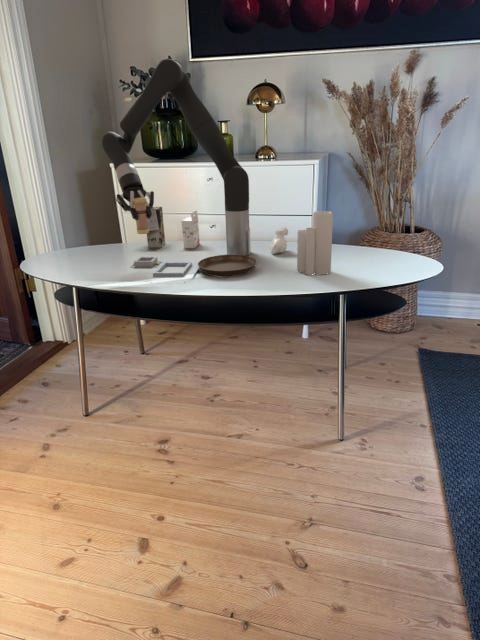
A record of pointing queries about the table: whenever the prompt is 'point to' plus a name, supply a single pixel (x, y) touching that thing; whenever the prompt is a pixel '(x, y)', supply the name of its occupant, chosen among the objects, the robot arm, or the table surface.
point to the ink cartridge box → (190, 231)
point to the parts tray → (172, 274)
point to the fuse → (141, 215)
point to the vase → (316, 245)
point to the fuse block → (146, 262)
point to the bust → (279, 241)
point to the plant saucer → (227, 265)
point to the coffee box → (156, 228)
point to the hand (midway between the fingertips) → (143, 217)
